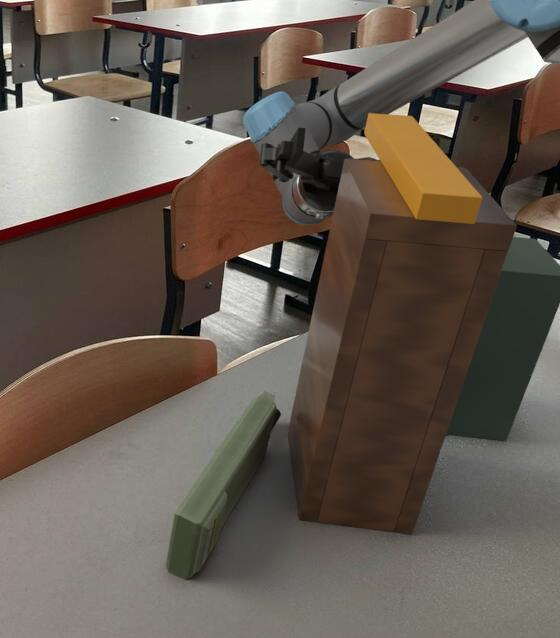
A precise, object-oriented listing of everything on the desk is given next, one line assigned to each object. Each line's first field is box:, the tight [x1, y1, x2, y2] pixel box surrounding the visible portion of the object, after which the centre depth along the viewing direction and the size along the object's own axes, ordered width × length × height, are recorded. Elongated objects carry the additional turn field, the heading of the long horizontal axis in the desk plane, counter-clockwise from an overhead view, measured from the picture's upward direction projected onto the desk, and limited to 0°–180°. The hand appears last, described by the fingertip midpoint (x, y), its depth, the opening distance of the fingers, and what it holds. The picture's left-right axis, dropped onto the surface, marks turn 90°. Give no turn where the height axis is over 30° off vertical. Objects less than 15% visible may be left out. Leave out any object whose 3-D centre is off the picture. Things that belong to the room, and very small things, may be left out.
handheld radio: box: [165, 391, 282, 580], centre depth 71 cm, size 7×3×25 cm
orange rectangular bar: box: [363, 113, 482, 224], centre depth 62 cm, size 4×22×2 cm, turn 171°
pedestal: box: [446, 236, 560, 442], centre depth 80 cm, size 10×9×20 cm
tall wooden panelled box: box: [287, 158, 518, 535], centre depth 67 cm, size 10×13×30 cm
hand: (367, 145), depth 79 cm, fingers open, 13 cm apart
